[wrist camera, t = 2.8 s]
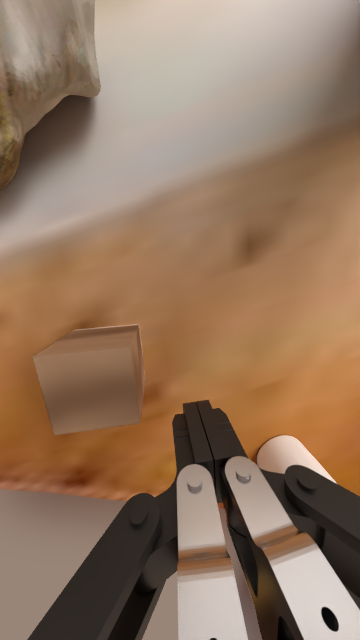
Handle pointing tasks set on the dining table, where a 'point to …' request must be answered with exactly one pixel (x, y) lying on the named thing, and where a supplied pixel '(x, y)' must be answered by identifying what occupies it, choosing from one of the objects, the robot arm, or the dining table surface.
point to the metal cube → (93, 379)
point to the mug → (287, 456)
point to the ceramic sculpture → (41, 66)
